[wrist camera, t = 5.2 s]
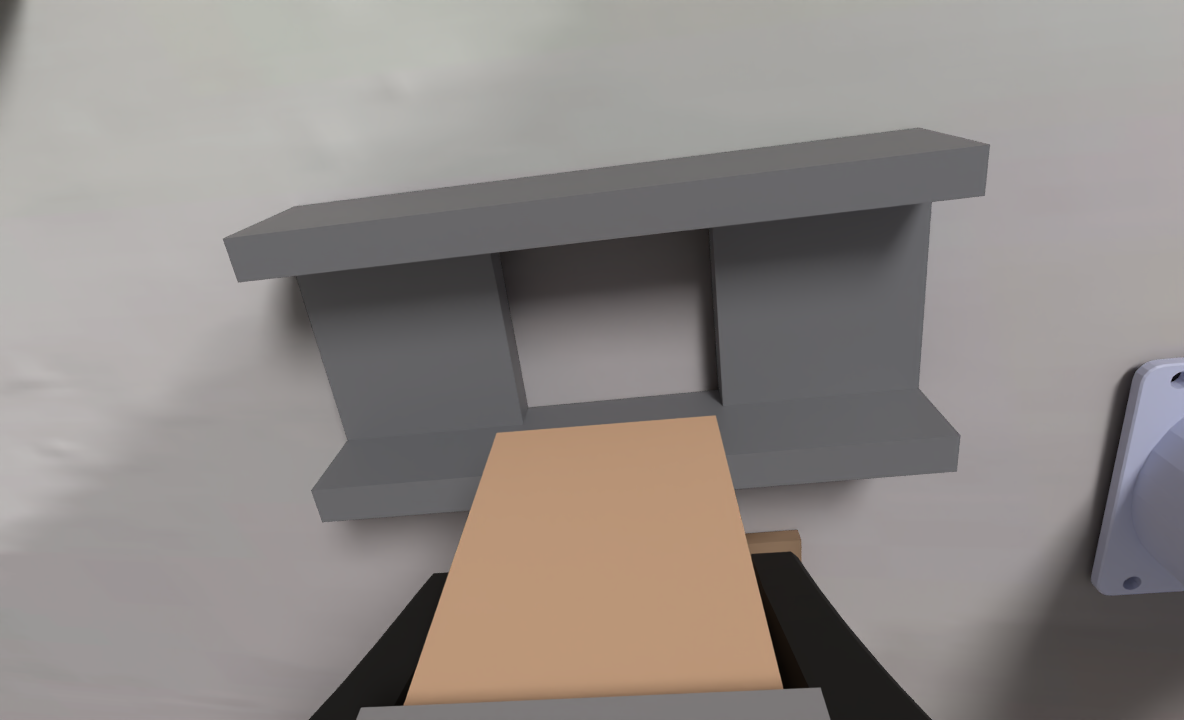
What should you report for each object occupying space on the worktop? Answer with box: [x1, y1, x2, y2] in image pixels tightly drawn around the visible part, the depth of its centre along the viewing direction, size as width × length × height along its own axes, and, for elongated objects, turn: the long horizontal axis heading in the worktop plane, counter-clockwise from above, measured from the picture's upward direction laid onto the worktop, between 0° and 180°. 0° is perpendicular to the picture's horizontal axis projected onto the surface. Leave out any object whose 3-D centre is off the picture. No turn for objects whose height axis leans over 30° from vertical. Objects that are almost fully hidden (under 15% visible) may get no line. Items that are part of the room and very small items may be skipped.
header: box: [223, 128, 990, 522], centre depth 17 cm, size 16×8×4 cm, turn 97°
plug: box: [356, 415, 830, 720], centre depth 10 cm, size 5×5×7 cm
